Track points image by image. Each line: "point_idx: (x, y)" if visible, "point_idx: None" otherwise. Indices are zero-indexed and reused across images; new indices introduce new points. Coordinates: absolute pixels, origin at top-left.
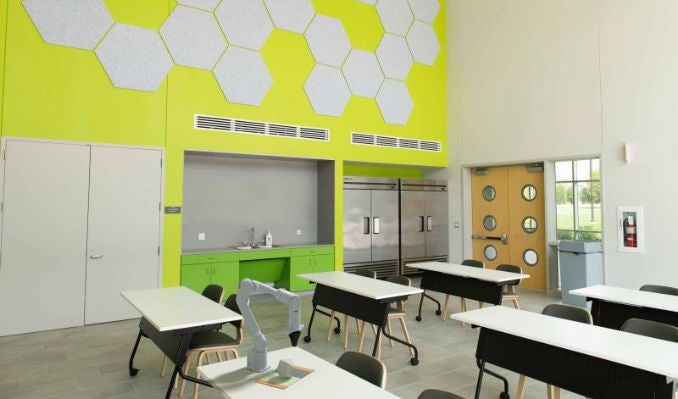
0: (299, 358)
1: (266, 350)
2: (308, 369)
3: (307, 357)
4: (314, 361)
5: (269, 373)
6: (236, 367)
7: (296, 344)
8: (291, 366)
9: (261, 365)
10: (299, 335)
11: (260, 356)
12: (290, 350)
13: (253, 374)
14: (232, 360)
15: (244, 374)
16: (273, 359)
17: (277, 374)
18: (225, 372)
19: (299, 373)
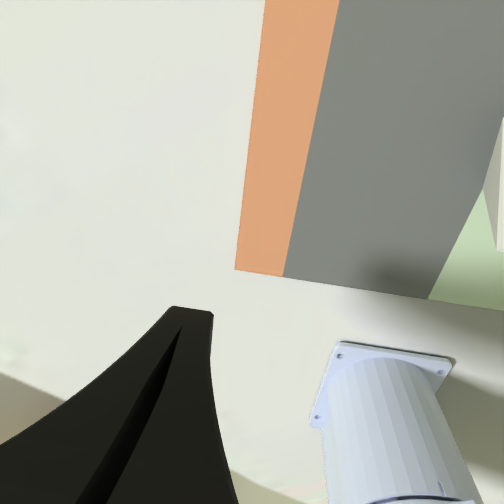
0: (78, 238)
1: (395, 492)
2: (285, 14)
3: (14, 188)
4: (44, 74)
5: (468, 305)
6: None
7: (178, 324)
8: None
9: (431, 394)
10: (20, 462)
11: (469, 472)
12: (3, 347)
13: (488, 377)
14: (306, 500)
15: (493, 413)
16: None
17: (483, 246)
18: (473, 480)
19: (427, 61)
